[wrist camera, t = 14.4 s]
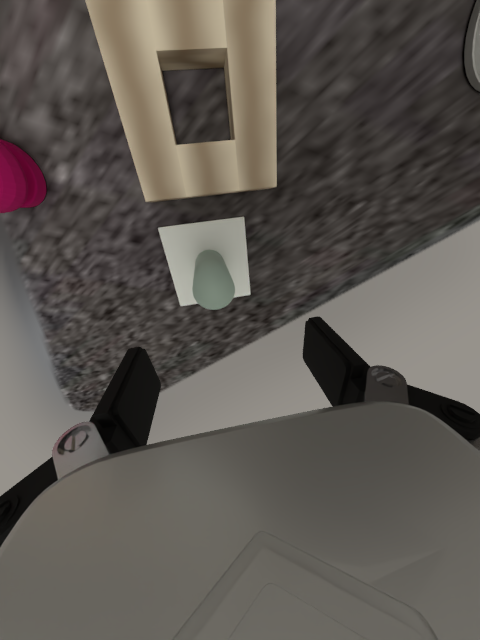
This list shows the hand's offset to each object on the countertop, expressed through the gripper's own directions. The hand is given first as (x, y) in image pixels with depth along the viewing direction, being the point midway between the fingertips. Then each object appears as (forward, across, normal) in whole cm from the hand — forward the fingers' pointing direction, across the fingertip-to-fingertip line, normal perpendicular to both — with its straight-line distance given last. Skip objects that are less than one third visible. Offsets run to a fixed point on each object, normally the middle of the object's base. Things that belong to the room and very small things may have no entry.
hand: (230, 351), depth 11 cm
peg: (+22, +1, 0) cm, 22 cm away
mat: (+22, +1, +1) cm, 22 cm away
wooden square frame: (+23, -1, -16) cm, 28 cm away
